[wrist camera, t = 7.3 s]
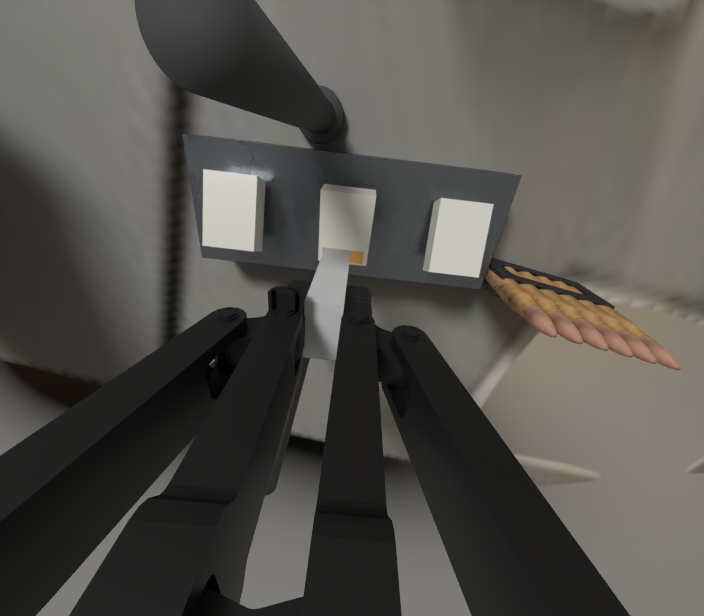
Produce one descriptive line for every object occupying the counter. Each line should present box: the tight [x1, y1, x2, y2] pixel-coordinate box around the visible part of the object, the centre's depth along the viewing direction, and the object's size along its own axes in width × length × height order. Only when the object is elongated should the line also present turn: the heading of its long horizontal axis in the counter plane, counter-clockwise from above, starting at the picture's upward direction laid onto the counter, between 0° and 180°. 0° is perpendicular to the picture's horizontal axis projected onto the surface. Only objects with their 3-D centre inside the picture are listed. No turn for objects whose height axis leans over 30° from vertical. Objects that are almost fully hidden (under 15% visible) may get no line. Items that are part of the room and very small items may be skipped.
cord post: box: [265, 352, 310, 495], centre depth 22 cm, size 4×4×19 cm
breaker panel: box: [182, 134, 521, 289], centre depth 24 cm, size 24×9×4 cm, turn 84°
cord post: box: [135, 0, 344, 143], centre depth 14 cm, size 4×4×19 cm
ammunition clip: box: [482, 258, 681, 370], centre depth 23 cm, size 11×2×12 cm, turn 75°
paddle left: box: [202, 169, 266, 252], centre depth 20 cm, size 4×5×2 cm
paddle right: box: [423, 198, 494, 278], centre depth 20 cm, size 4×5×2 cm
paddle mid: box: [318, 184, 376, 266], centre depth 20 cm, size 4×5×2 cm
